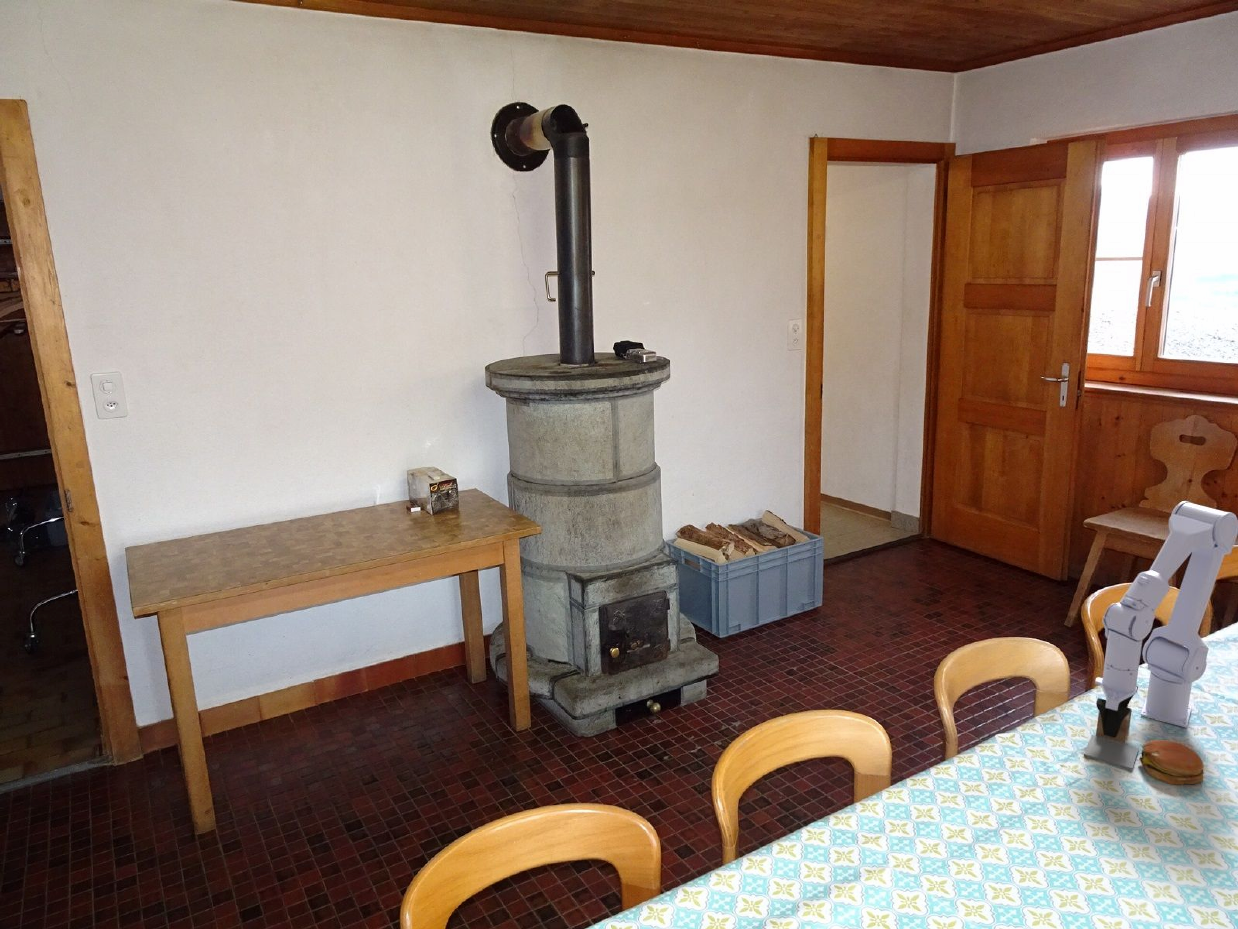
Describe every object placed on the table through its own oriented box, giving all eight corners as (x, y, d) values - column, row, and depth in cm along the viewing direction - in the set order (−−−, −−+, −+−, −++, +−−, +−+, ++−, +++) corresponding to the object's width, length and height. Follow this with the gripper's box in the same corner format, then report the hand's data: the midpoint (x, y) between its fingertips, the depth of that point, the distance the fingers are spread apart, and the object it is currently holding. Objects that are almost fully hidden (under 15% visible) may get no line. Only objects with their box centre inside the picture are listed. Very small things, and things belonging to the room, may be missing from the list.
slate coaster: (1091, 737, 170) (1091, 734, 170) (1138, 750, 165) (1138, 748, 165) (1083, 756, 164) (1083, 753, 164) (1131, 771, 159) (1132, 768, 159)
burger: (1212, 777, 157) (1216, 754, 156) (1183, 794, 153) (1187, 770, 152) (1157, 751, 166) (1160, 729, 164) (1128, 766, 161) (1131, 743, 160)
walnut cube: (1100, 724, 175) (1103, 701, 174) (1128, 732, 172) (1131, 709, 171) (1095, 735, 171) (1098, 712, 170) (1124, 743, 168) (1127, 720, 167)
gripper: (1105, 644, 176) (1097, 705, 179) (1091, 673, 164) (1083, 736, 168) (1145, 654, 171) (1136, 715, 175) (1133, 683, 160) (1124, 748, 164)
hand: (1113, 726), depth 171 cm, fingers open, 7 cm apart
